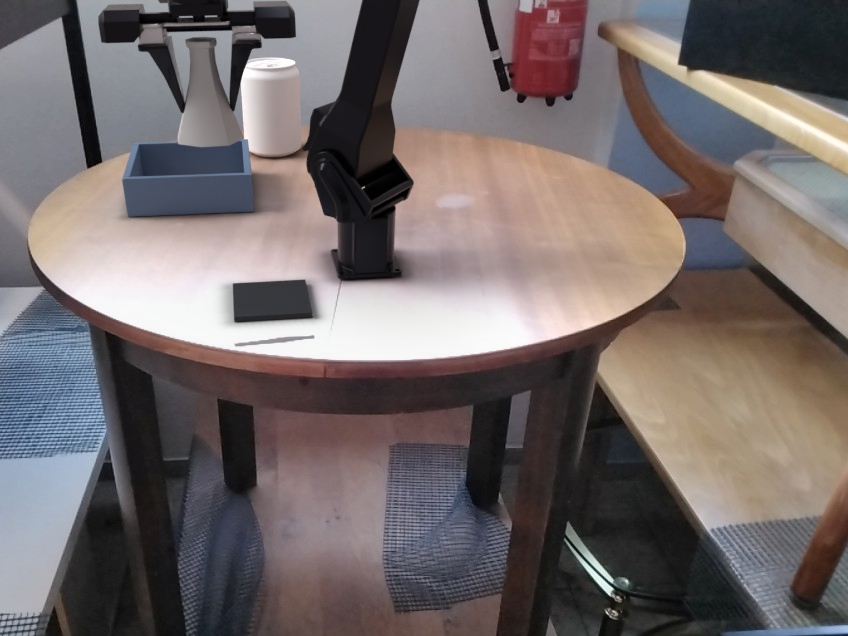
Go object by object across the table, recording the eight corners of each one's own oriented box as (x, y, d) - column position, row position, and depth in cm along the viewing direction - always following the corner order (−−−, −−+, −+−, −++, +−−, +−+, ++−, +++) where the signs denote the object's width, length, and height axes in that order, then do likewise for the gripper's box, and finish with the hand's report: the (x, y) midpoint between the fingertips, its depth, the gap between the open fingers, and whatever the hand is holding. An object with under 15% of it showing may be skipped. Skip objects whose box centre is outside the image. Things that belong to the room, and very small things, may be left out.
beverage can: (236, 156, 112) (229, 66, 105) (258, 140, 118) (253, 55, 112) (289, 161, 110) (286, 70, 103) (309, 145, 116) (307, 59, 110)
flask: (251, 132, 87) (244, 33, 82) (236, 150, 81) (227, 46, 75) (187, 130, 88) (176, 33, 82) (167, 149, 82) (154, 45, 76)
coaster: (312, 317, 71) (312, 312, 71) (234, 322, 70) (233, 317, 70) (305, 283, 77) (305, 279, 77) (233, 287, 76) (232, 283, 76)
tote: (254, 211, 93) (251, 174, 91) (127, 217, 91) (121, 179, 89) (249, 172, 105) (247, 138, 103) (138, 176, 104) (133, 142, 101)
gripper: (285, -65, 82) (292, 91, 90) (101, -63, 80) (125, 97, 88) (292, -59, 73) (299, 115, 81) (84, -56, 71) (113, 122, 79)
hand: (208, 111), depth 83 cm, fingers closed on flask, 5 cm apart
